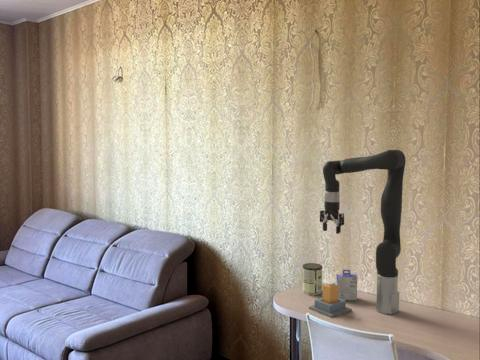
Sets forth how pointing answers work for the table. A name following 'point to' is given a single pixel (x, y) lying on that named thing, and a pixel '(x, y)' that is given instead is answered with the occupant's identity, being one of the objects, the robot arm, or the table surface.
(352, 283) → the ink cartridge box
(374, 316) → the table surface
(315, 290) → the coffee can
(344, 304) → the holder
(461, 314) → the table surface
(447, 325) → the table surface
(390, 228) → the robot arm
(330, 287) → the connector plug
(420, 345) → the table surface
